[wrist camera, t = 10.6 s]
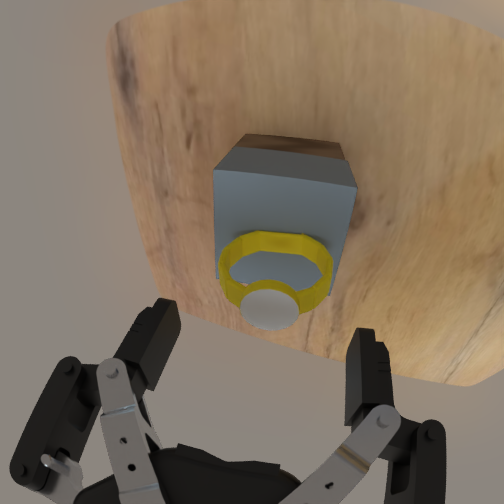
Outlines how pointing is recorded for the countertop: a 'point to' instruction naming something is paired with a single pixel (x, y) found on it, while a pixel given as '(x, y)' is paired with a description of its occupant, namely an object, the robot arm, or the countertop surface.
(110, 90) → the countertop surface
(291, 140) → the walnut block
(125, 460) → the robot arm
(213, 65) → the countertop surface
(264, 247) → the watch
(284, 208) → the grey block
